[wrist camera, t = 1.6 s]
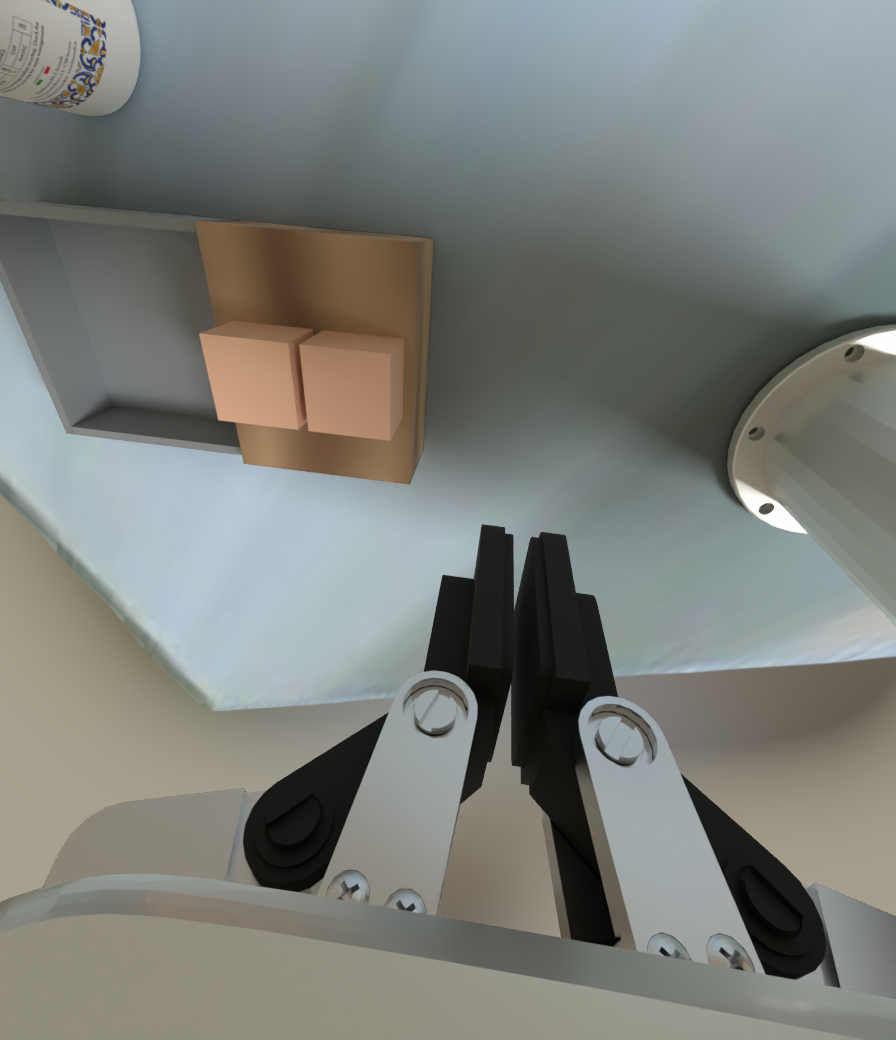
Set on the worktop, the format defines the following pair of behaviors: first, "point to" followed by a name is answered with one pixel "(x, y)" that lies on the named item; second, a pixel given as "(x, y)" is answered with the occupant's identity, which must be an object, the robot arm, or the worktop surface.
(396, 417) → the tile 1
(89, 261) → the tray
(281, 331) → the light orange block
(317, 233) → the brown slab
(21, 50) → the bath foam
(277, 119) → the worktop surface
